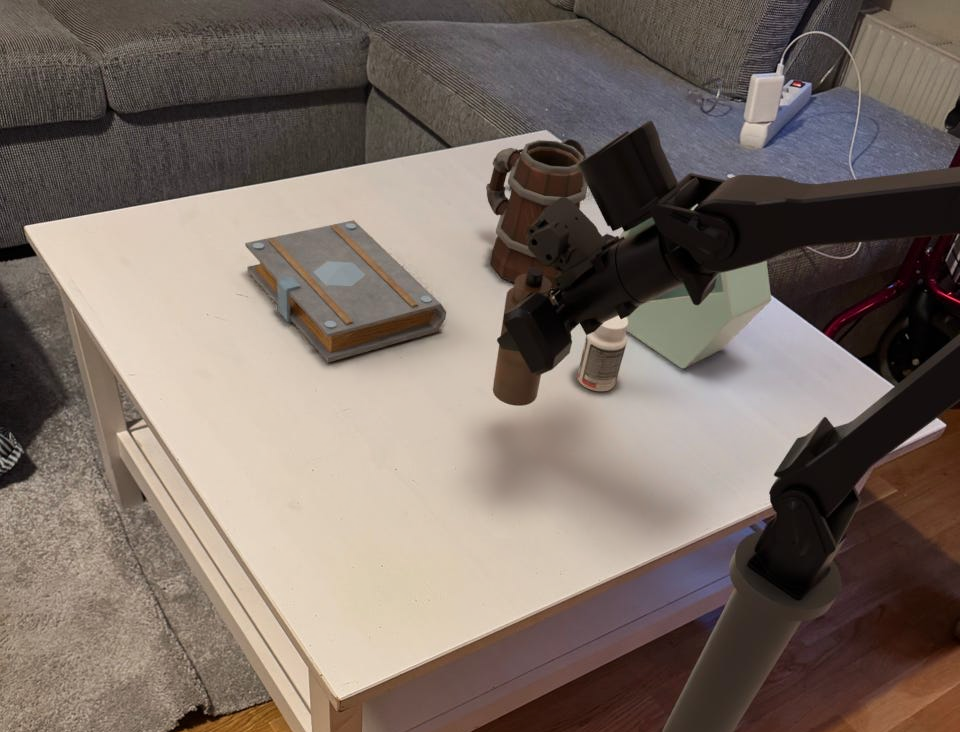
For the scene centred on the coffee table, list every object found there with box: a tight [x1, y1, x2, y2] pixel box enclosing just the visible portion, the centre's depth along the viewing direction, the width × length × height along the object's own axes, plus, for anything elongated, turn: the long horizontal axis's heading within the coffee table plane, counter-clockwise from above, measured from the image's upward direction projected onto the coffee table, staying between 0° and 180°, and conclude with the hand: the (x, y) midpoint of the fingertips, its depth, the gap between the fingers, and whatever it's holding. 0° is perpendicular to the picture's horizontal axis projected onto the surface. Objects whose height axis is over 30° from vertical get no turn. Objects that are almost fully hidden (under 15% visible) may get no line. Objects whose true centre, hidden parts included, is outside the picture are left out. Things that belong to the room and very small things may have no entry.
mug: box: [485, 139, 589, 290], centre depth 120 cm, size 16×12×15 cm
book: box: [244, 219, 447, 363], centre depth 112 cm, size 21×16×5 cm
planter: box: [618, 204, 772, 370], centre depth 111 cm, size 17×8×21 cm
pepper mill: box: [492, 267, 555, 407], centre depth 92 cm, size 5×5×14 cm
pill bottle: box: [577, 315, 628, 392], centre depth 107 cm, size 5×5×8 cm
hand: (512, 332), depth 93 cm, fingers closed on pepper mill, 5 cm apart
